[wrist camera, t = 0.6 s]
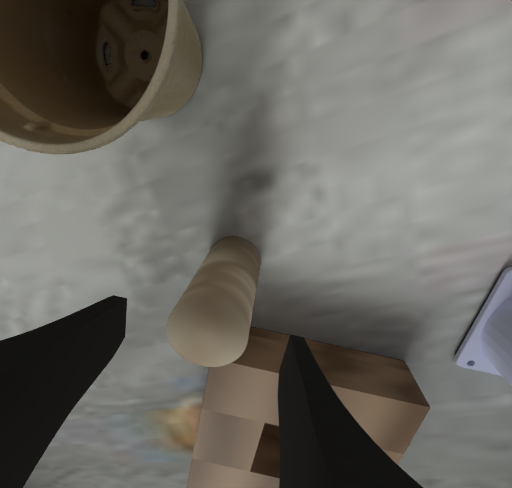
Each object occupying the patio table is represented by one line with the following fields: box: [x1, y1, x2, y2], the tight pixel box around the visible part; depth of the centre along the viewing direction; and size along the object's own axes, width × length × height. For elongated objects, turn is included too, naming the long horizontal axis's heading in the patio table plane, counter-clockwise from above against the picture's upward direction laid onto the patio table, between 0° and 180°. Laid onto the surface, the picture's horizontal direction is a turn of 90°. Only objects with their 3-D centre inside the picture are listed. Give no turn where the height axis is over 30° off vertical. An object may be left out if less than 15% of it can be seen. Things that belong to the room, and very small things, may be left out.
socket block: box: [186, 327, 430, 488], centre depth 22 cm, size 14×14×4 cm
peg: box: [167, 237, 261, 367], centre depth 16 cm, size 4×4×8 cm
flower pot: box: [0, 0, 202, 154], centre depth 12 cm, size 9×9×9 cm
